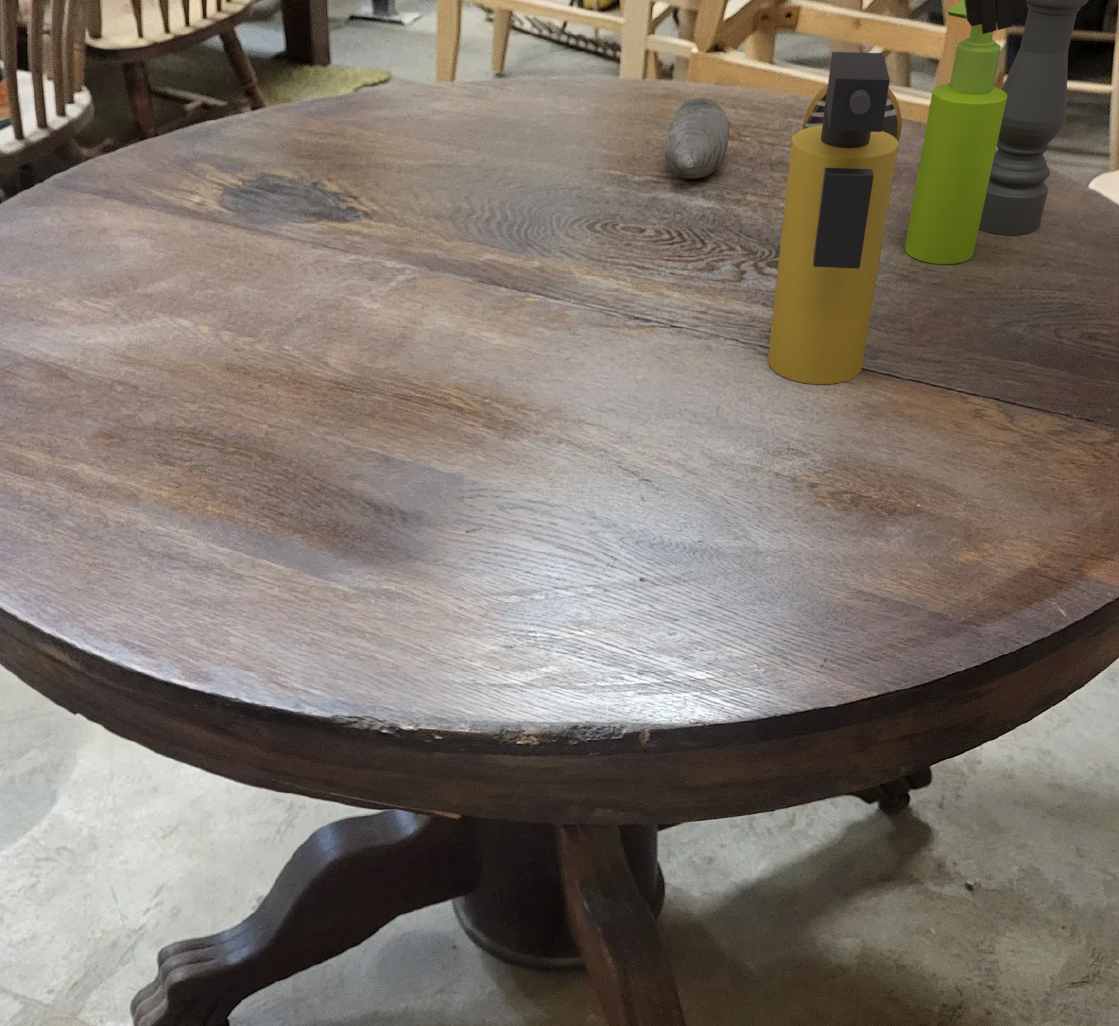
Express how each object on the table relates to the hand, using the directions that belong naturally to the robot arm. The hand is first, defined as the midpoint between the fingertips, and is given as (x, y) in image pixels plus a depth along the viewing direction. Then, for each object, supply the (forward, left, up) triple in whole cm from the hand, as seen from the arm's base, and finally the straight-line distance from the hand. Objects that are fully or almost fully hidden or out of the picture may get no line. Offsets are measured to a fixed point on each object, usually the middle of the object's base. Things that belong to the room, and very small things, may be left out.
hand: (994, 18), depth 64 cm
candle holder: (-12, -44, -27) cm, 53 cm away
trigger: (+6, -7, -16) cm, 19 cm away
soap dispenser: (-5, -36, -27) cm, 45 cm away
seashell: (+17, -55, -27) cm, 63 cm away
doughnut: (+2, -55, -27) cm, 61 cm away
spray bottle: (+6, -12, -26) cm, 29 cm away
